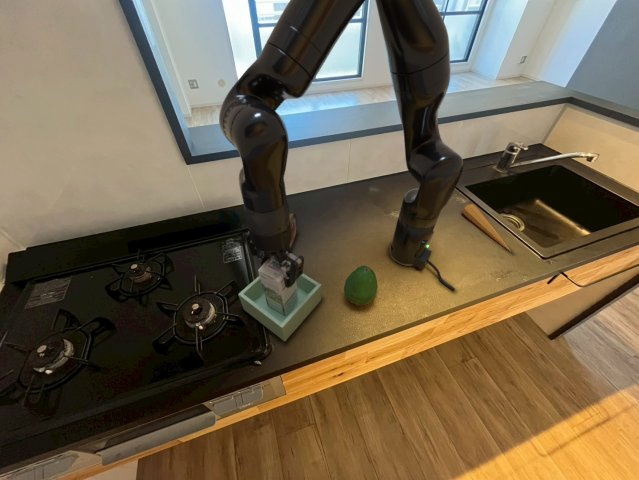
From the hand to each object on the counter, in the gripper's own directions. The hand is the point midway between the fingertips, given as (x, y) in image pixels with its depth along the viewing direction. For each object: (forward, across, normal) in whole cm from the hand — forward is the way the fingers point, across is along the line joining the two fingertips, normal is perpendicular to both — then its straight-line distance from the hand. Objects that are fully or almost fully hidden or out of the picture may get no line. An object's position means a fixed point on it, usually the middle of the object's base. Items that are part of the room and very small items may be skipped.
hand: (278, 277), depth 61 cm
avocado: (+11, +14, +13) cm, 22 cm away
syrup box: (+11, 0, 0) cm, 11 cm away
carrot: (+11, +33, +58) cm, 67 cm away
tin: (+11, -13, +16) cm, 24 cm away
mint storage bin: (+11, 0, 0) cm, 11 cm away
